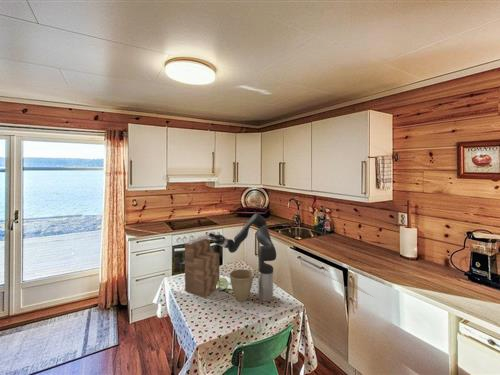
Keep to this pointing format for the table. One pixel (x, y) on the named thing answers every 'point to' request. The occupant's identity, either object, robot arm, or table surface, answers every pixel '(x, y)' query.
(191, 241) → the aluminium bar
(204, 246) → the walnut stand
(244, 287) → the plant pot
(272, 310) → the table surface
